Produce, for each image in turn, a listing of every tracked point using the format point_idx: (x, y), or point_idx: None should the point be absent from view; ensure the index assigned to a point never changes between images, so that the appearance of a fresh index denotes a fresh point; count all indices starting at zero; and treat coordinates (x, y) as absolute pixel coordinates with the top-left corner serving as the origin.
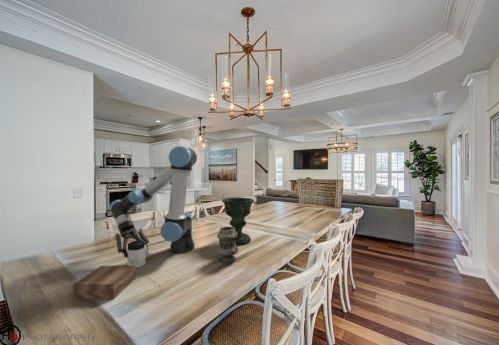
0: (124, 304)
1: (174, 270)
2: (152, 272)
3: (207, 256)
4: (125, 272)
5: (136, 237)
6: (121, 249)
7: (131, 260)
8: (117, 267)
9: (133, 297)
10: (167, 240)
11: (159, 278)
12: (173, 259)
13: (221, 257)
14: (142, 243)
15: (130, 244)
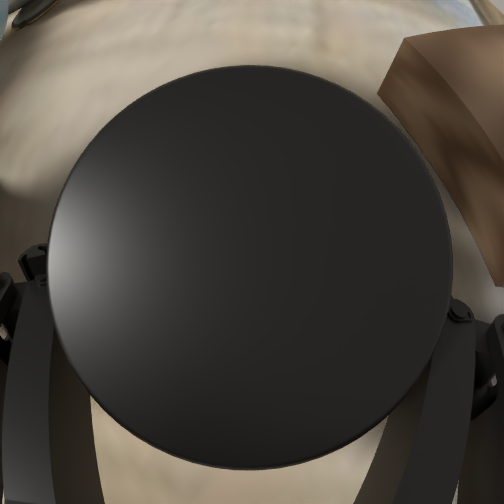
0: (452, 17)
1: (182, 19)
2: None
3: (15, 59)
4: (467, 37)
5: (67, 502)
6: (498, 322)
7: None
8: (502, 130)
9: (425, 13)
10: (1, 29)
11: (286, 11)
12: (62, 134)
13: (37, 7)
14: (186, 77)
15: (411, 270)
